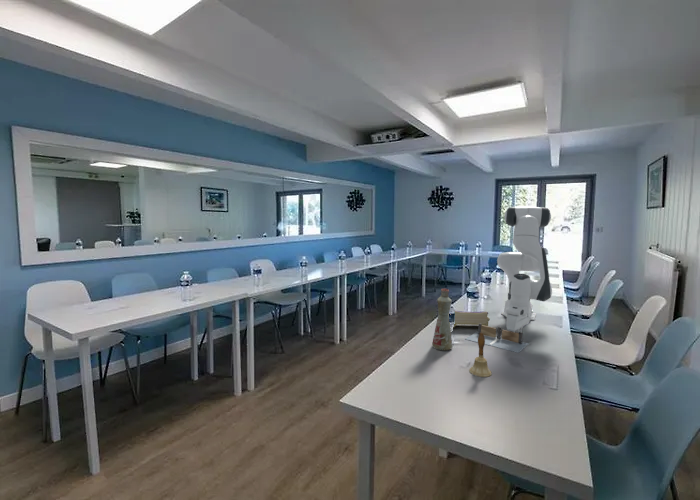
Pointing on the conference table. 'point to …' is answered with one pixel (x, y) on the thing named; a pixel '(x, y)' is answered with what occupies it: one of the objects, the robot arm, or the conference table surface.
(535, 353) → the conference table surface
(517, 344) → the card
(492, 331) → the fence fixed
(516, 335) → the fence flap
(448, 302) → the bottle
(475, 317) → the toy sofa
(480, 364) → the hand bell
